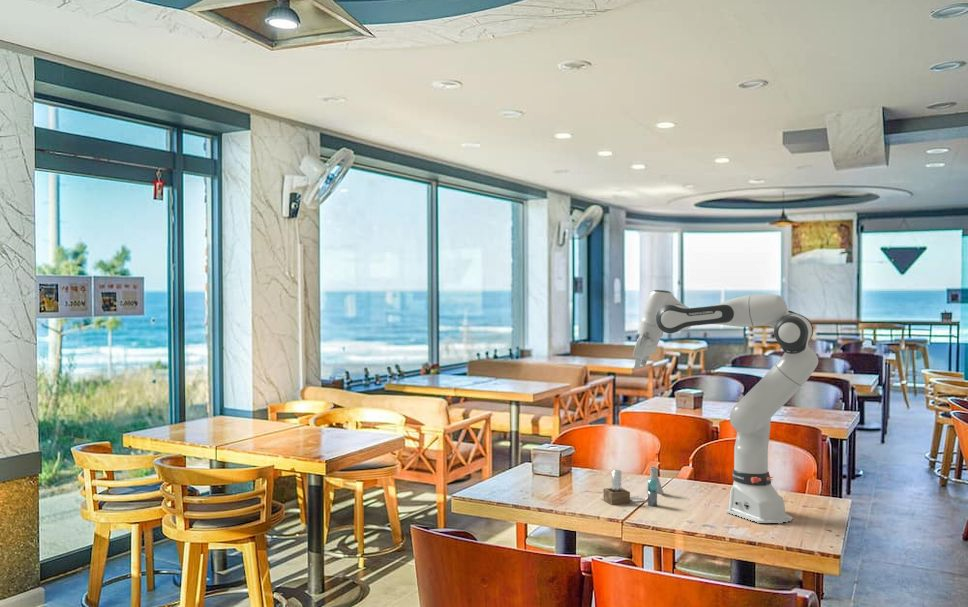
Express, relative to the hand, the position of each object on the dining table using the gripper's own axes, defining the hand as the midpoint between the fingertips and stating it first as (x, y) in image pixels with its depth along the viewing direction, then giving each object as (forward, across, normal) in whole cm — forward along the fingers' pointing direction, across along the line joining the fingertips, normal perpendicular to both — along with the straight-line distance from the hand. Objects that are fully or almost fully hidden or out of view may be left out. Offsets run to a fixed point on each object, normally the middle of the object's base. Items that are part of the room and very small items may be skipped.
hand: (639, 366), depth 283 cm
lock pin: (+46, -17, -9) cm, 50 cm away
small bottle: (+44, -16, -22) cm, 51 cm away
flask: (+46, +3, -18) cm, 49 cm away
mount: (+47, -14, -12) cm, 50 cm away
